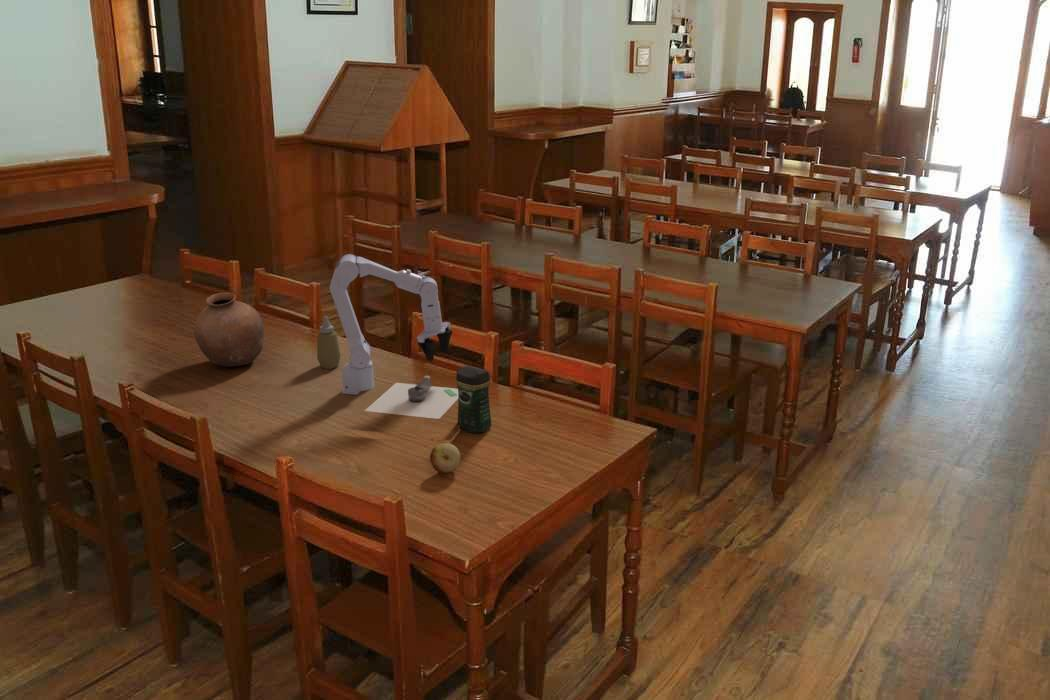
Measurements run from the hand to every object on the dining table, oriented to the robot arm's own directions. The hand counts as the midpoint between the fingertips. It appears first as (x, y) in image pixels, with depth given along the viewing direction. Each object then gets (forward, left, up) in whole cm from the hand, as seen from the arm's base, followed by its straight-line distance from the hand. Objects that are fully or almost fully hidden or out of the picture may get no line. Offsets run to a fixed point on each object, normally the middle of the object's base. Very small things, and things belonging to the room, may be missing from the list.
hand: (437, 356), depth 305 cm
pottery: (-77, +3, -11) cm, 78 cm away
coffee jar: (+22, -27, -11) cm, 37 cm away
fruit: (+24, -56, -11) cm, 62 cm away
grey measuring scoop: (-1, -12, -9) cm, 15 cm away
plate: (-1, -15, -11) cm, 19 cm away
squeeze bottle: (-43, +9, -11) cm, 46 cm away
